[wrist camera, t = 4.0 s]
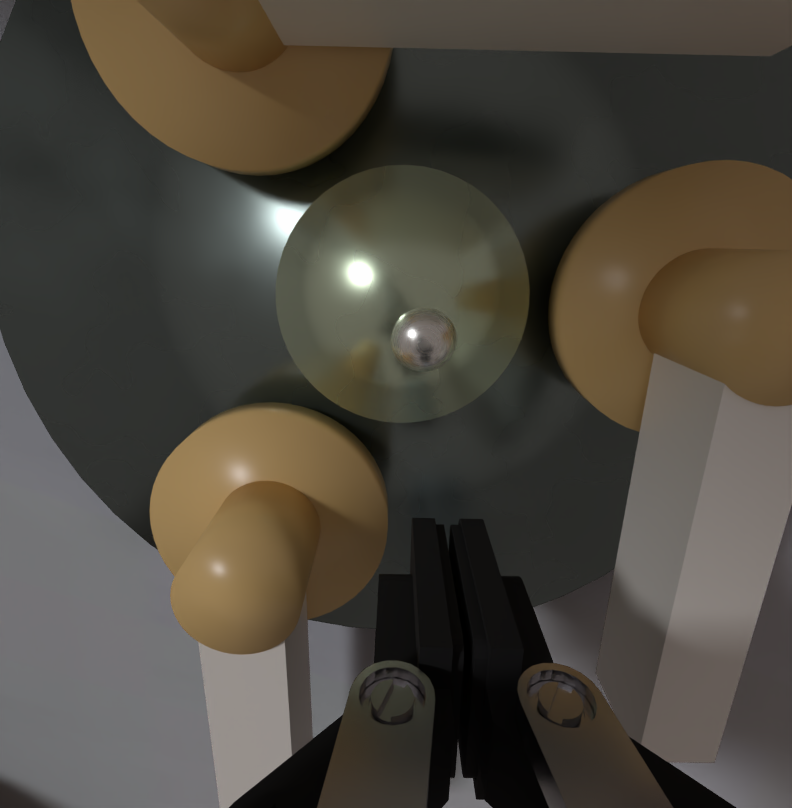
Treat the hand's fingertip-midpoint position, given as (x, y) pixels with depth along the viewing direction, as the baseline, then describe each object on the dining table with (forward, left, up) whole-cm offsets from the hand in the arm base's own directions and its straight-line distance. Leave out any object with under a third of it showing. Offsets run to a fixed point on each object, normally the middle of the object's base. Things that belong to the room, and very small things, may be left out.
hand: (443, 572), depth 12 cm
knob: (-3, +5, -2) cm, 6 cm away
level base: (-6, -1, -4) cm, 7 cm away
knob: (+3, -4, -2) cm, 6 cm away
